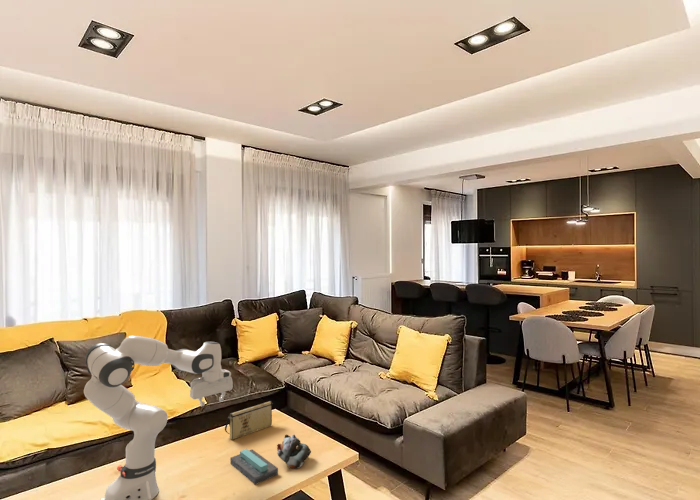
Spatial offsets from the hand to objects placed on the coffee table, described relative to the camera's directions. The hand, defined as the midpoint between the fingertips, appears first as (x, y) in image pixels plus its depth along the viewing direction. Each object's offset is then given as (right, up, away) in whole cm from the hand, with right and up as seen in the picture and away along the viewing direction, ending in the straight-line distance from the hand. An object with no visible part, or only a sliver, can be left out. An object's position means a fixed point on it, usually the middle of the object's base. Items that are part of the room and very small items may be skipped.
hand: (212, 403), depth 195 cm
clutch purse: (+8, -31, +38) cm, 50 cm away
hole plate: (+20, -31, -1) cm, 37 cm away
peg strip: (+20, -31, -1) cm, 37 cm away
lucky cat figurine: (+39, -31, +5) cm, 50 cm away
